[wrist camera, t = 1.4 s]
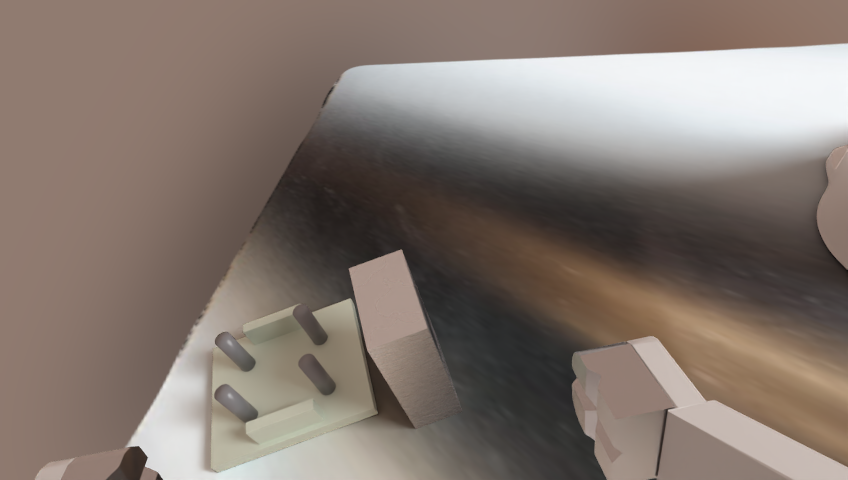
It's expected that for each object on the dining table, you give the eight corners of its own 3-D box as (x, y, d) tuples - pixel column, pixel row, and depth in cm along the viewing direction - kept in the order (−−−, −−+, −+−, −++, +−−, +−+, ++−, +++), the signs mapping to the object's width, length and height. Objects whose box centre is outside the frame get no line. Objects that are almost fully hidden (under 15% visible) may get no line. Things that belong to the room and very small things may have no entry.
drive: (438, 340, 40) (401, 249, 32) (462, 411, 36) (427, 328, 28) (395, 355, 40) (348, 268, 32) (415, 429, 36) (366, 350, 28)
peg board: (354, 305, 44) (333, 269, 40) (378, 413, 37) (355, 382, 33) (219, 354, 44) (185, 322, 40) (217, 472, 37) (177, 447, 33)
